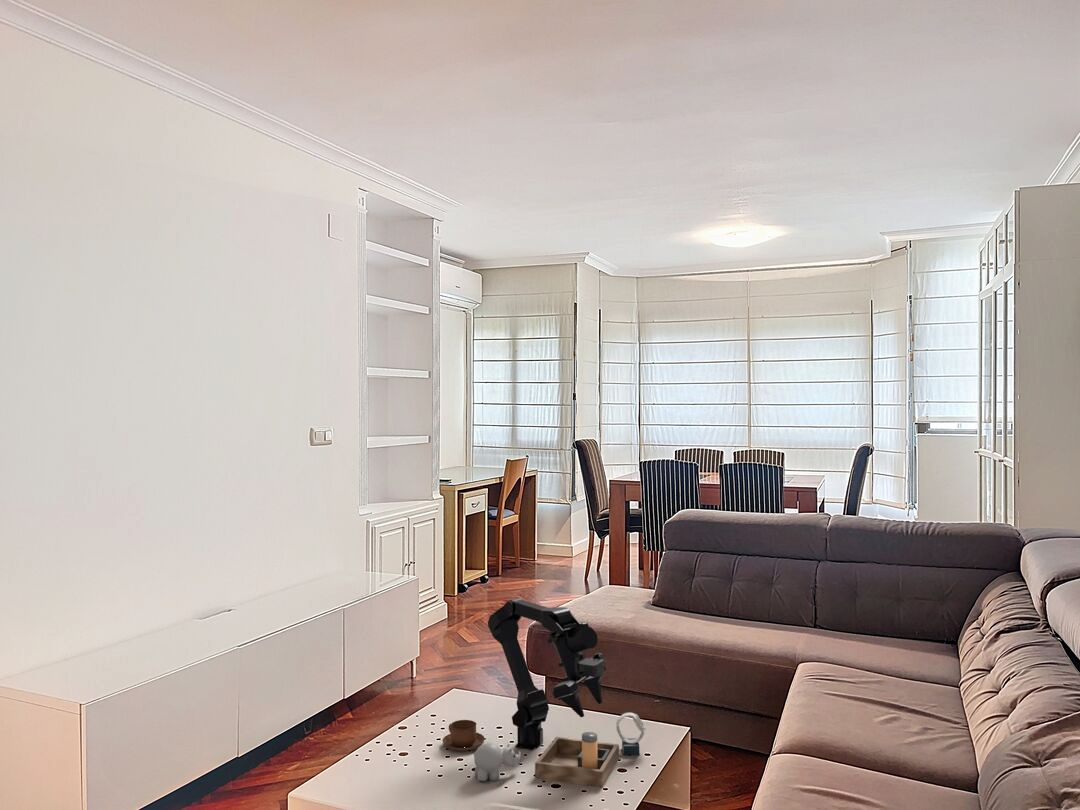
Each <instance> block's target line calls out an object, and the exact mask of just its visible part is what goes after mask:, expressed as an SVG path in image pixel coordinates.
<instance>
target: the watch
mask: <svg viewBox="0 0 1080 810" xmlns="http://www.w3.org/2000/svg"><path fill="white" fill-rule="evenodd" d="M627 717H632V720H633V722H634V724H635V726H636V727H637V729H638V731H640V732H641V733H640V735H639V736H638V737H636V738H635V737H631V738H628V737H627V738H625V736H624V734H623V733H622V731H621V729H620V725H619V724H620V722H621V721H622V720H623V719H624V718H627ZM645 731H646V728H645V725H644V723H643V722H642V720H641V718H640V716H639V715H638V714H637V713H634V712H624V713H622V714H621V715H620V716H619V717H618V718H617V721H616V732H617V733H618V736H619V738H620V739H621V749H622V752H623V756H640V754H641V753H640V743H639V742H641V741H642V739H644V737H645Z"/></svg>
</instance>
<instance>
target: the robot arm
mask: <svg viewBox="0 0 1080 810" xmlns="http://www.w3.org/2000/svg"><path fill="white" fill-rule="evenodd" d="M521 618H525V619H529V620H531V621H534V622H537V623H540V625H541V626H542V628H543V629H545V630H547V631H548V632H551V633H550V634H549V638H548V639H547V644H552V643H553V645H554V648H555V650H556V652H557V655H558V658H559V660H560V661H559V663H557V664H558V666H559V668H561V667H562V668H563V670H564V674H565V677H563V679H564V681H563V682H559V683H558V684H556V685H555V686H553V688H552V690H551V692H552V696H553V698H554V699H558V700H559V701H560V700H561V701H562V702H563V703H564V704H566V705H567V706H568V707H569V708H571V710H572V711H574V712H575V713H576V715H578V716H579V717H580V718H584V717H585V713H584V710H583V706H582V703H581V701H580V698H579V697H580V693H581V692H580V691H581V690H580V689H578V685H579V684H580V683H582V682H583V683H584V684H585V685H586V688H587V689H588V690H589V692H590V694H591V696H592V697H593V699H594V700H595V701H596V702H597V704H598V705H600V704H602V703H603V698H602V697H603V696H602V684H601V683H602V679H603V677H604V676H605V671H607V669H606V666H605V665H606V664H607V661H605V660H606V659H605V657H604V655H603V653H601V652H597V653H595V654H593V656H592V657H590V658H588V657H587V656H586V653H584V652H583V651H588V650H592V649H594V648H595V647H596V646H597V644H598V641H599V640H598V634H597V633H596V631H595V630H594V628H593V627H591V626H590V625H589V624H588V622H583V623H581V622H580V621H579V620H578V618H577V617H576V616H575V615H574V614H573V613H572V612H571V610H570V609H569V608H568V607H563V606H559V607H558V606H557V607H547V606H544V605H541V604H537V603H534V602H531V601H528V600H525V599H523V598H520V597H518V598H514V599H509V600H508V601H506V602H505V603H504V604H503V606H501V607H500V608H499V609H497V610H496V611H494V612H493V613H492V614H490V616H489V618H488V620H487V627H488V629H489V631H490V633H491V636H492V638H493V639H494V640H496V641H497V642H498V643H499V644H500V645H501V648H502V650H503V652H504V655H505V659H506V661H507V664H508V667H509V670H510V673H511V675H512V679H513V680H514V681H513V682H514V684H515V687H516V690H517V698H516V706H517V707H516V708H517V710H516V712H515V713H514V714H513V715H512V716H511V720H512V725H513V726H515V727H517V731H516V732H517V743H516V744H515V748H519V749H524V750H525V749H526V750H534V749H538V747H540V746H541V745H542V744H543V743H544V728H543V727H542V723H545V722H546V720H547V716H548V713H549V710H550V708H549V700H548V699H547V697H546V692H545V690H544V689H543V688H541V689H539V688H537V687H536V686H535V683H534V681H533V679H532V676H531V673H530V669H529V667H528V665H527V661H526V659H525V656H524V653H523V650H522V648H521V645H520V642H519V640H518V637H519V636H518V635H519V629H520V626H519V621H520V620H522V619H521Z"/></svg>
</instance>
